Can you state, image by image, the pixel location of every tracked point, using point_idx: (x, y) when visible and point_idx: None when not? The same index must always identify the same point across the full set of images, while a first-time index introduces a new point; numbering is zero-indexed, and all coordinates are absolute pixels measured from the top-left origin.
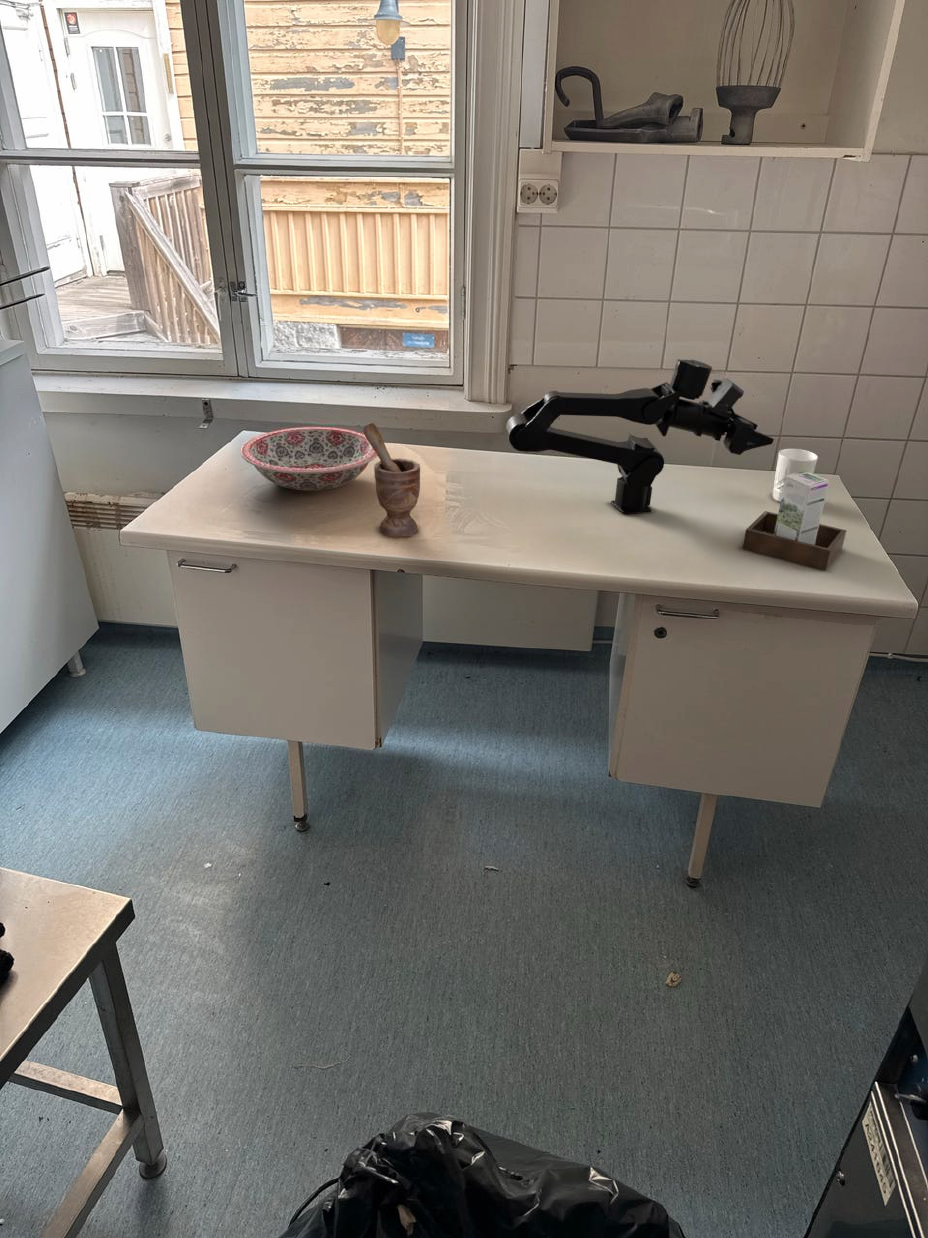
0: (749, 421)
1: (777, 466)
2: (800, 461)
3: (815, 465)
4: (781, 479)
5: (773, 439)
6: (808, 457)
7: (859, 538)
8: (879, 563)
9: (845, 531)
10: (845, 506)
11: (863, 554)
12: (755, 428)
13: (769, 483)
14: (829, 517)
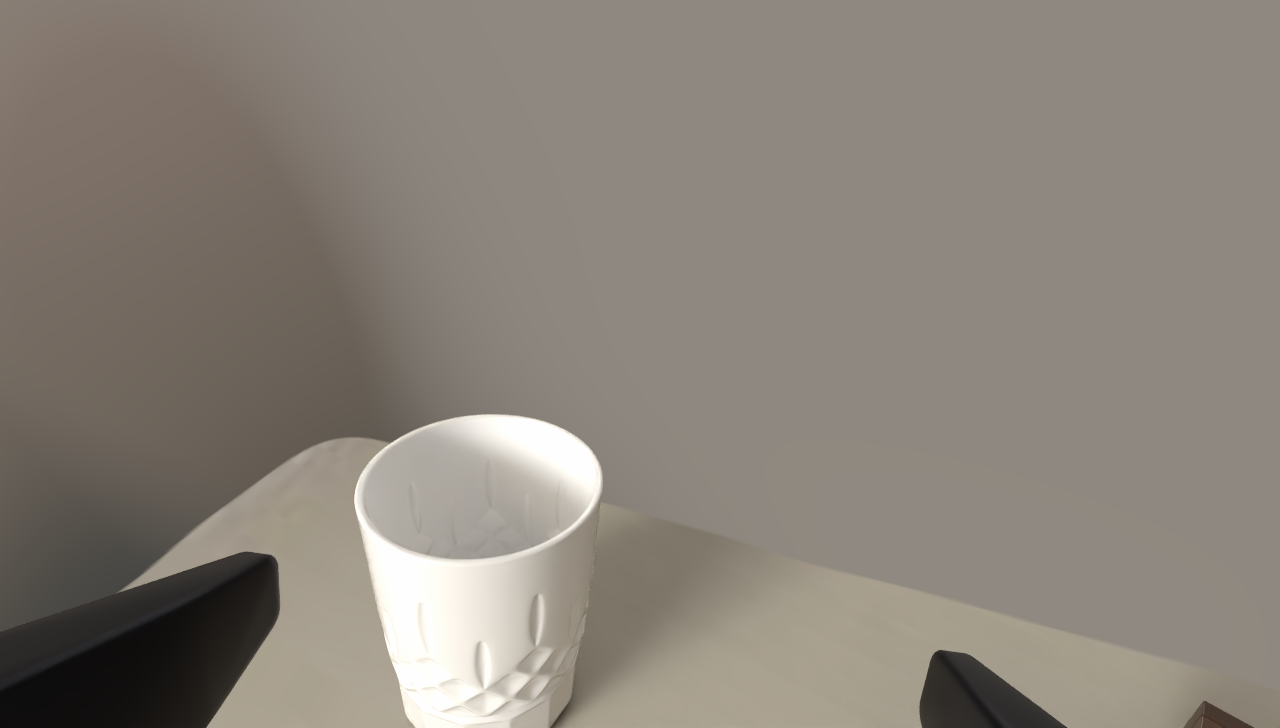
0: (151, 626)
1: (433, 627)
2: (592, 516)
3: (570, 468)
4: (507, 670)
5: (969, 662)
6: (469, 446)
7: (960, 623)
8: (1231, 684)
9: (1231, 715)
10: (625, 513)
11: (1156, 697)
12: (275, 611)
13: (255, 658)
14: (738, 617)
